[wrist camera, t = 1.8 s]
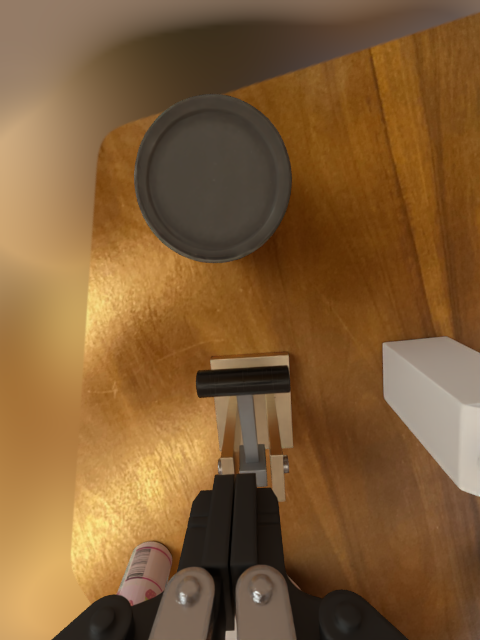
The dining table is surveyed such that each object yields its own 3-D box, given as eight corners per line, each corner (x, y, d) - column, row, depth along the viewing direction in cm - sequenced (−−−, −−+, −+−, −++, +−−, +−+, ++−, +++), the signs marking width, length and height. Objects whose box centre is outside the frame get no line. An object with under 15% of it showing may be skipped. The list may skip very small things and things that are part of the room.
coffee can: (169, 163, 34) (114, 113, 21) (267, 142, 34) (278, 75, 20) (191, 262, 37) (155, 275, 23) (283, 244, 36) (302, 247, 22)
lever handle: (197, 361, 23) (194, 389, 21) (286, 356, 22) (291, 383, 20) (221, 462, 31) (220, 488, 29) (286, 459, 31) (289, 485, 29)
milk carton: (445, 335, 38) (630, 426, 19) (444, 392, 39) (613, 527, 21) (381, 341, 38) (503, 437, 20) (383, 398, 40) (496, 534, 21)
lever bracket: (211, 356, 39) (190, 416, 26) (287, 351, 39) (306, 410, 25) (220, 445, 42) (206, 541, 29) (292, 442, 42) (311, 538, 28)
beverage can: (157, 578, 48) (116, 728, 33) (124, 558, 47) (67, 701, 32) (180, 554, 46) (148, 698, 32) (147, 532, 46) (98, 669, 31)
